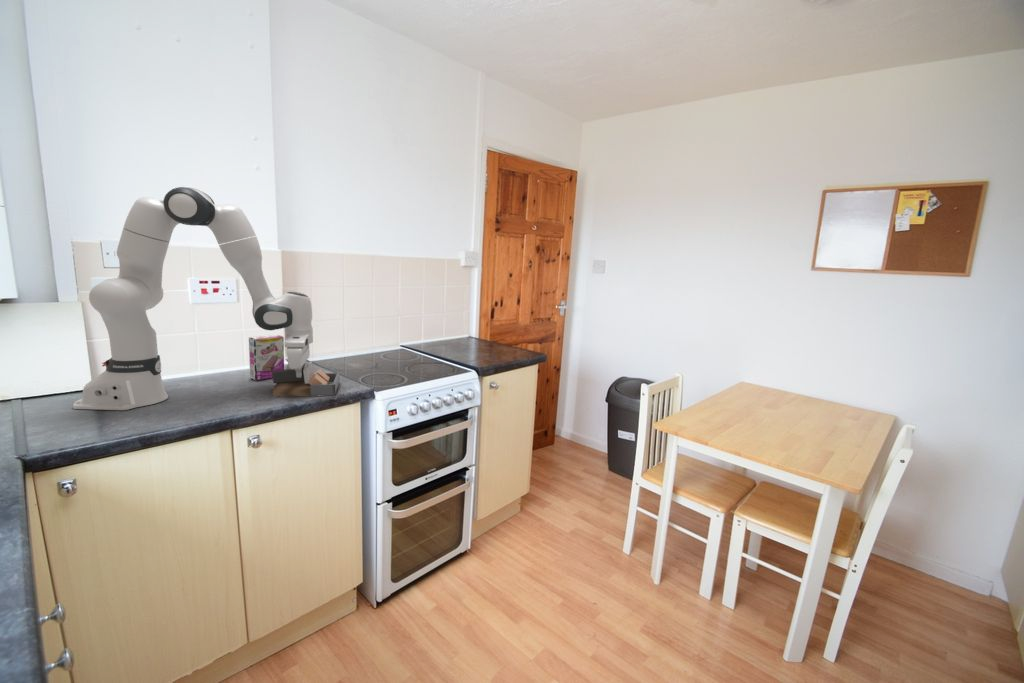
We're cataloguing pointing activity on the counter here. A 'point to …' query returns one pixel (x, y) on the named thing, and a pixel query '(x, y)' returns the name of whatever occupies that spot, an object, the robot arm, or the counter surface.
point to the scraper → (293, 375)
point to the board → (292, 389)
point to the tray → (326, 386)
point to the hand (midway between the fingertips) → (300, 375)
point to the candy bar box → (265, 356)
